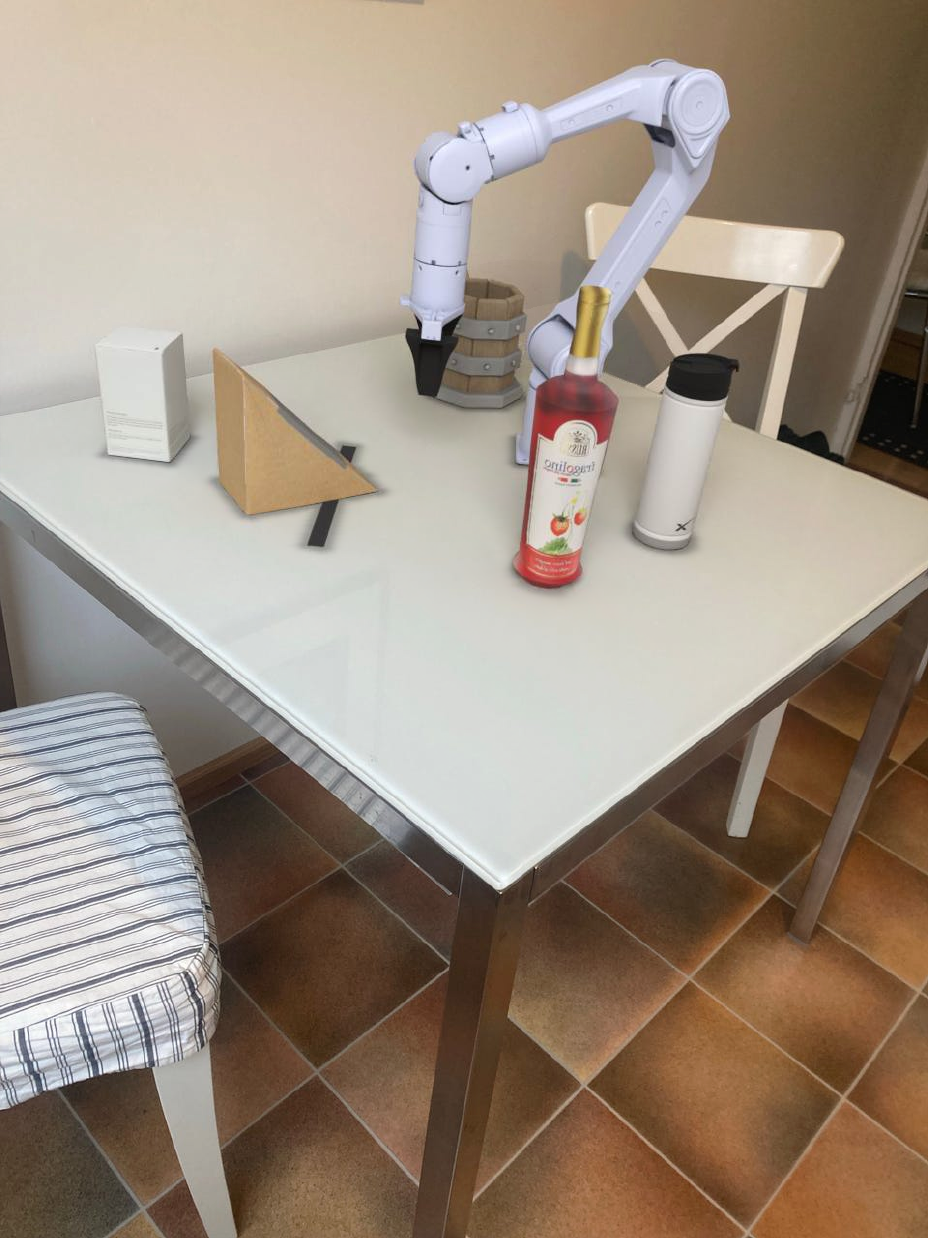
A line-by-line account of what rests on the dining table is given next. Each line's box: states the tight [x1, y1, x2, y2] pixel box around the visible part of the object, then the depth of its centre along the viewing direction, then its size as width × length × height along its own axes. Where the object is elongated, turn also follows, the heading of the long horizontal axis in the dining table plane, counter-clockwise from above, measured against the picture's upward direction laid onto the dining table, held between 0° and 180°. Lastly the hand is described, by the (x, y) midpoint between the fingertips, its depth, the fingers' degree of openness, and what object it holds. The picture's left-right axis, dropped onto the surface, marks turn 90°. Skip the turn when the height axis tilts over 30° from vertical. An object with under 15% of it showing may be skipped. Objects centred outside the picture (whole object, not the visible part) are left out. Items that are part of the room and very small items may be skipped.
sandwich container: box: [212, 347, 378, 516], centre depth 104 cm, size 9×15×15 cm, turn 122°
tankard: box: [433, 270, 528, 409], centre depth 135 cm, size 20×13×15 cm, turn 13°
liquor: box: [512, 286, 619, 589], centre depth 90 cm, size 7×7×28 cm
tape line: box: [307, 445, 357, 548], centre depth 108 cm, size 2×24×1 cm, turn 178°
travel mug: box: [631, 352, 740, 551], centre depth 101 cm, size 6×7×20 cm
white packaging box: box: [93, 324, 191, 463], centre depth 109 cm, size 7×7×13 cm
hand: (430, 382), depth 112 cm, fingers open, 7 cm apart
